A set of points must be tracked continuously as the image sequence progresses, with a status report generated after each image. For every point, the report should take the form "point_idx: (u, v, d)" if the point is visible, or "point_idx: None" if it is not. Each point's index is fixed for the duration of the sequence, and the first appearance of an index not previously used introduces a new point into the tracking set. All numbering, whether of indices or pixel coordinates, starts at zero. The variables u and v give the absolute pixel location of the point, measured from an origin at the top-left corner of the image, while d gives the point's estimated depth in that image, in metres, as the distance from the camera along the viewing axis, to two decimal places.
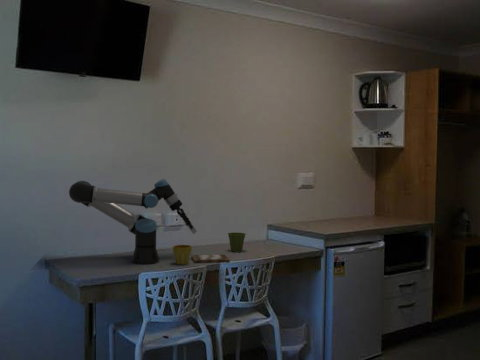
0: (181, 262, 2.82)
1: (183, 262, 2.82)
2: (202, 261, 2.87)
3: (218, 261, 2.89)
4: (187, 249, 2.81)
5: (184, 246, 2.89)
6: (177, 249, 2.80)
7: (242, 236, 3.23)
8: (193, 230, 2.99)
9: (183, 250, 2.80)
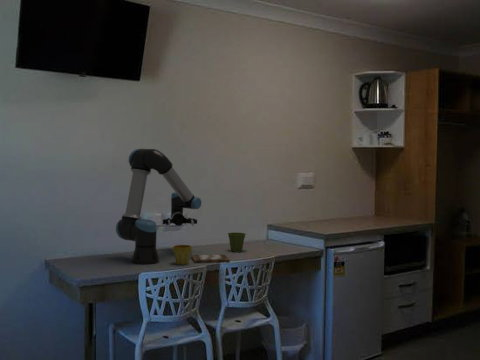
0: (181, 262, 2.82)
1: (183, 262, 2.82)
2: (202, 261, 2.87)
3: (218, 261, 2.89)
4: (187, 249, 2.81)
5: (184, 246, 2.89)
6: (177, 249, 2.80)
7: (242, 236, 3.23)
8: None
9: (183, 250, 2.80)
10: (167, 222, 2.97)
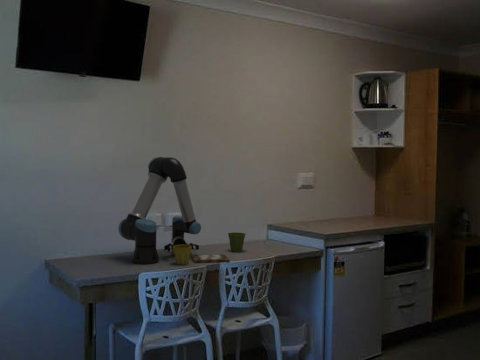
0: (181, 262, 2.82)
1: (183, 262, 2.82)
2: (202, 261, 2.87)
3: (218, 261, 2.89)
4: (187, 249, 2.81)
5: (184, 246, 2.89)
6: (177, 249, 2.80)
7: (242, 236, 3.23)
8: None
9: (183, 250, 2.80)
10: (169, 248, 2.93)
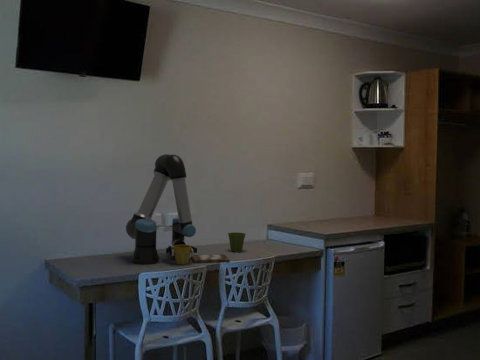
0: (181, 262, 2.82)
1: (183, 262, 2.82)
2: (202, 261, 2.87)
3: (218, 261, 2.89)
4: (187, 249, 2.81)
5: (184, 246, 2.89)
6: (177, 249, 2.80)
7: (242, 236, 3.23)
8: None
9: (183, 250, 2.80)
10: (170, 251, 2.83)
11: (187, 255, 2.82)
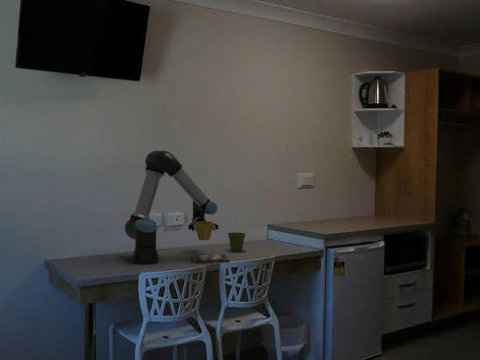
0: (203, 238, 2.89)
1: (205, 238, 2.89)
2: (202, 261, 2.87)
3: (218, 261, 2.89)
4: (209, 225, 2.88)
5: (206, 223, 2.97)
6: (199, 225, 2.88)
7: (242, 236, 3.23)
8: None
9: (205, 226, 2.87)
10: (193, 227, 2.90)
11: (209, 231, 2.90)
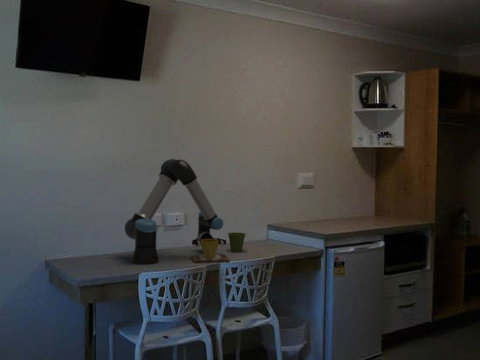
0: (209, 256, 2.93)
1: (210, 256, 2.93)
2: (202, 261, 2.87)
3: (218, 261, 2.89)
4: (214, 243, 2.92)
5: (211, 240, 3.00)
6: (205, 243, 2.91)
7: (242, 236, 3.23)
8: None
9: (211, 244, 2.91)
10: (197, 243, 2.94)
11: (214, 249, 2.93)
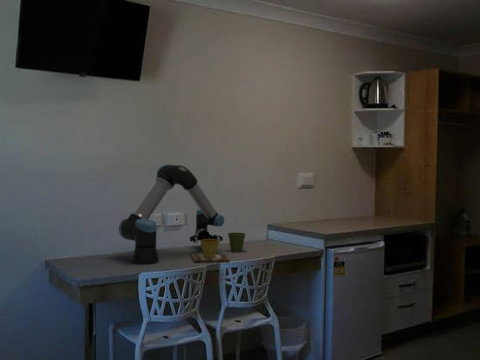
0: (209, 256, 2.93)
1: (210, 256, 2.93)
2: (202, 261, 2.87)
3: (218, 261, 2.89)
4: (214, 243, 2.92)
5: (211, 240, 3.00)
6: (205, 243, 2.91)
7: (242, 236, 3.23)
8: None
9: (211, 244, 2.91)
10: (194, 239, 3.07)
11: (214, 249, 2.93)
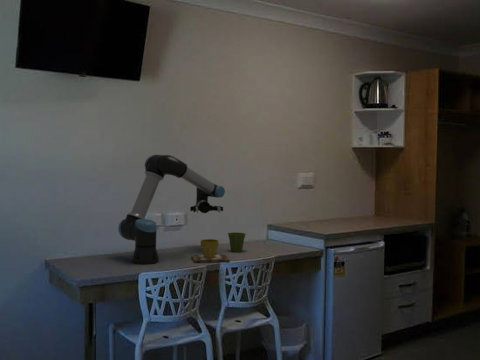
0: (209, 256, 2.93)
1: (210, 256, 2.93)
2: (202, 261, 2.87)
3: (218, 261, 2.89)
4: (214, 243, 2.92)
5: (211, 240, 3.00)
6: (205, 243, 2.91)
7: (242, 236, 3.23)
8: None
9: (211, 244, 2.91)
10: (195, 209, 3.06)
11: (214, 249, 2.93)
